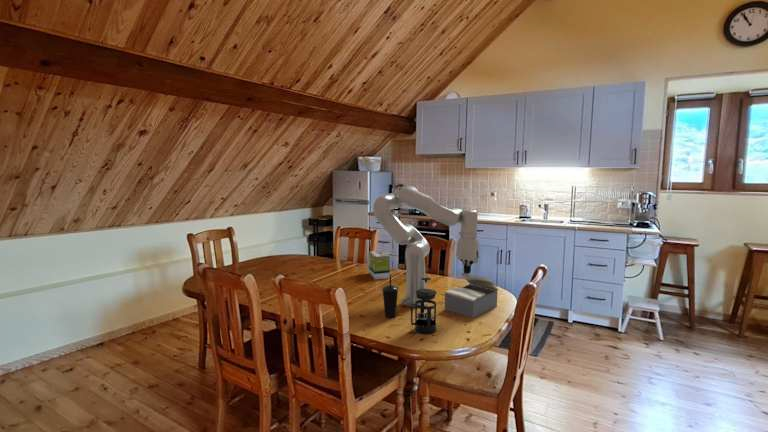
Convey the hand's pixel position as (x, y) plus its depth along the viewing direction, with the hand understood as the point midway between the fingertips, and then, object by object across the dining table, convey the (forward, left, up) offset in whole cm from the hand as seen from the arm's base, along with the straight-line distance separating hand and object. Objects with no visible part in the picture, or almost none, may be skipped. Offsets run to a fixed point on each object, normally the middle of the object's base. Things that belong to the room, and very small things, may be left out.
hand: (467, 273), depth 198 cm
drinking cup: (-32, +21, -19) cm, 42 cm away
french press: (-33, 0, -19) cm, 38 cm away
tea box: (+13, +73, -19) cm, 76 cm away
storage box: (+4, 0, -19) cm, 19 cm away
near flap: (-1, 0, -10) cm, 10 cm away
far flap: (+11, 0, -7) cm, 13 cm away
